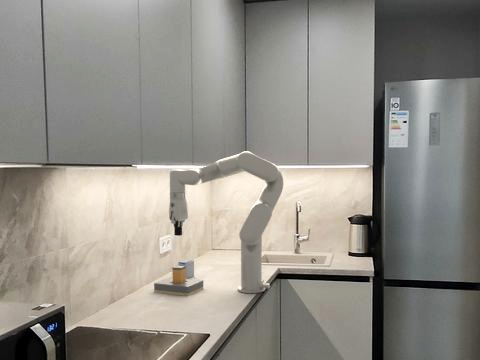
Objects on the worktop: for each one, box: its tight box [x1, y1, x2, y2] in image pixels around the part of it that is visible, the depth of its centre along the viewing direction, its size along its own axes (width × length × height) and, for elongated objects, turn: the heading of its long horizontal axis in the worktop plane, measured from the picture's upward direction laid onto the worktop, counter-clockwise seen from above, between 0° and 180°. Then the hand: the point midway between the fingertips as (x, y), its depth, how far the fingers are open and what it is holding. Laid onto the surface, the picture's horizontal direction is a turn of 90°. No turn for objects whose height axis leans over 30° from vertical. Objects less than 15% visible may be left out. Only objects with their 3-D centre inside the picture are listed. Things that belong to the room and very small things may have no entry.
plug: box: [171, 265, 186, 284], centre depth 224 cm, size 4×4×10 cm
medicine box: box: [177, 259, 195, 279], centre depth 252 cm, size 8×4×9 cm, turn 149°
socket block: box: [153, 276, 204, 296], centre depth 224 cm, size 18×14×4 cm
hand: (178, 235), depth 226 cm, fingers closed
